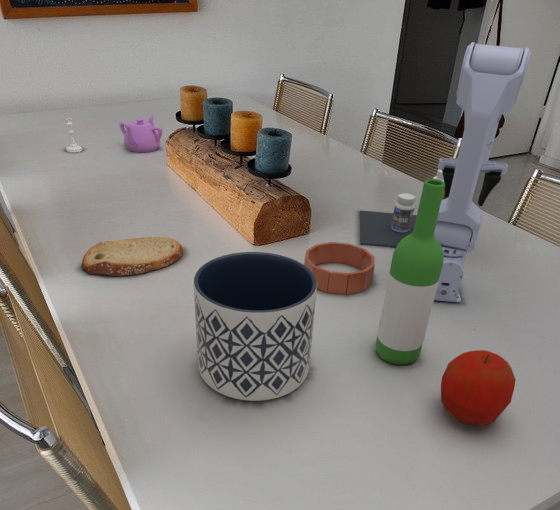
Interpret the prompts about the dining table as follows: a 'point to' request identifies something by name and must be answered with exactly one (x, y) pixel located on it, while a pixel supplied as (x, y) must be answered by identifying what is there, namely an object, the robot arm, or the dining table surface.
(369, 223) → the mat
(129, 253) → the slice of bread
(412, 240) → the wine bottle
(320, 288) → the bracelet
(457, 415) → the apple
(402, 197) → the pill bottle
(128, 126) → the teapot
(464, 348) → the dining table surface
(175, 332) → the dining table surface
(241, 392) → the planter
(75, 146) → the chess piece
